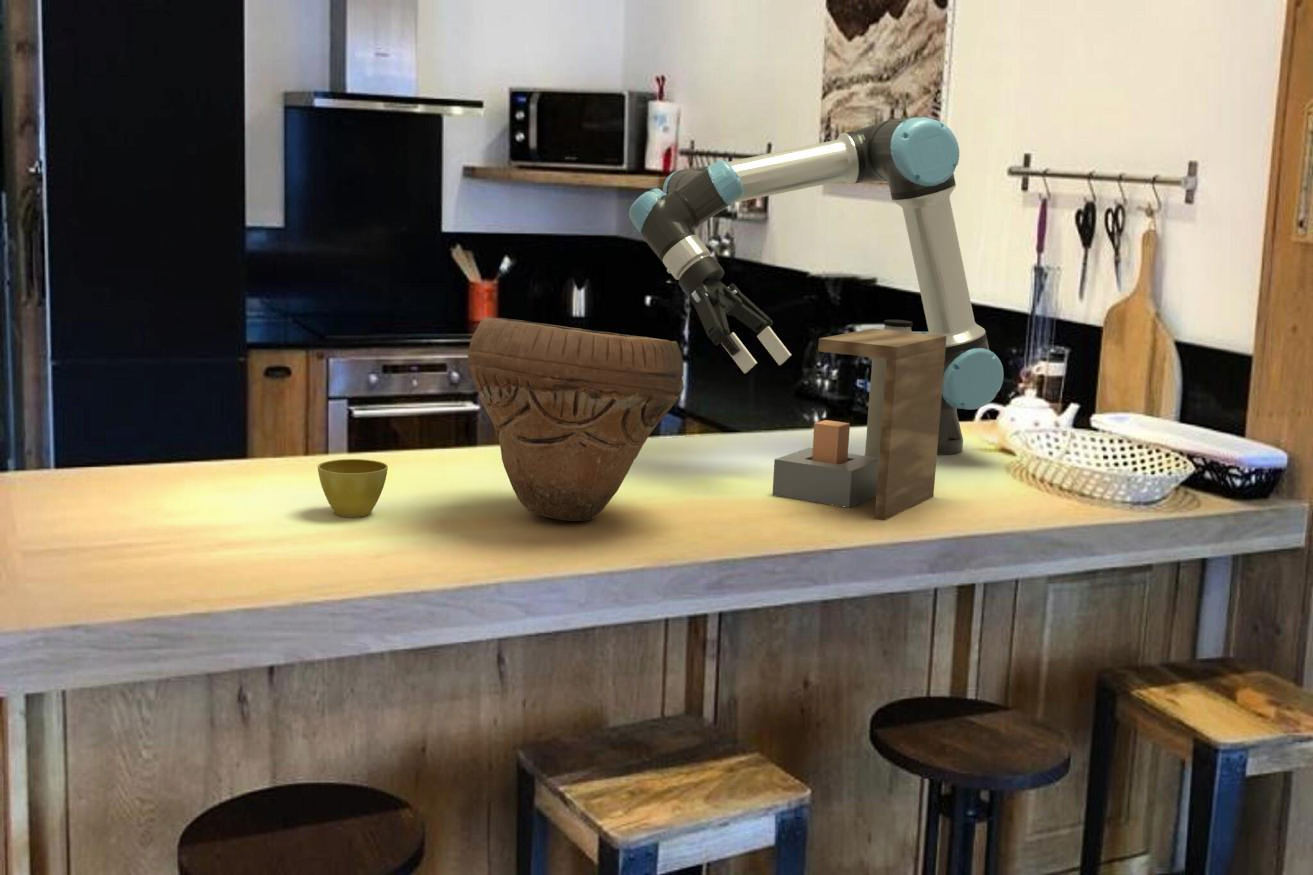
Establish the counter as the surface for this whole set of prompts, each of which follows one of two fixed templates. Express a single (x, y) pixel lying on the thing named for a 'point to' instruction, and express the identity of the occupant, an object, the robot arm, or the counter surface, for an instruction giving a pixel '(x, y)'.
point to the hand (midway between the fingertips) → (768, 364)
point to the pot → (571, 407)
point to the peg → (831, 442)
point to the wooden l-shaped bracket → (903, 411)
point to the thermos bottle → (879, 393)
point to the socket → (826, 479)
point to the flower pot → (352, 485)
